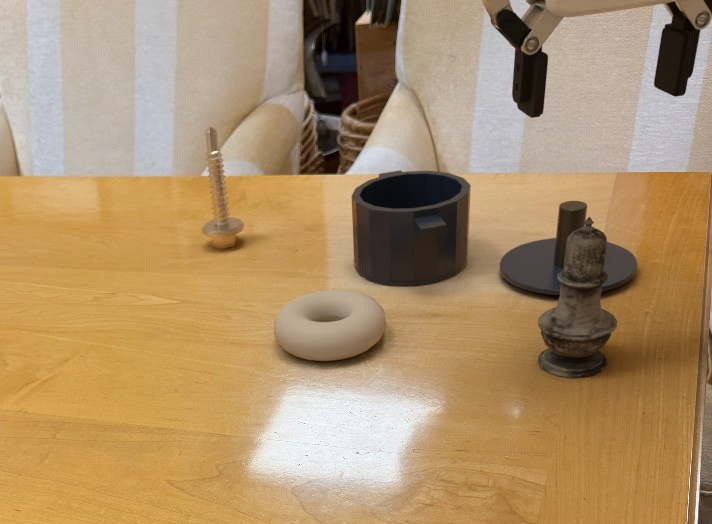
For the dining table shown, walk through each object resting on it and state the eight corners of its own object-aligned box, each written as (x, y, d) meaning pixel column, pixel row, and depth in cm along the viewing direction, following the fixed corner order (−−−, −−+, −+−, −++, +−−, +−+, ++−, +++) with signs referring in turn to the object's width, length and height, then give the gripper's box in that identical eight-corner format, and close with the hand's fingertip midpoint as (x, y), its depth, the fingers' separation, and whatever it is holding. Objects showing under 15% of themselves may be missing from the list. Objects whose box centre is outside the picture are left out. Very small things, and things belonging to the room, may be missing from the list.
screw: (201, 254, 103) (207, 237, 106) (243, 251, 102) (248, 235, 105) (183, 135, 95) (191, 122, 99) (229, 131, 94) (235, 118, 98)
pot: (441, 226, 100) (442, 156, 95) (491, 286, 87) (495, 209, 82) (340, 242, 100) (337, 173, 96) (374, 305, 87) (372, 228, 82)
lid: (601, 240, 92) (610, 174, 88) (660, 288, 82) (672, 217, 78) (481, 259, 92) (485, 194, 88) (525, 310, 82) (531, 239, 78)
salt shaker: (577, 387, 71) (596, 239, 64) (518, 362, 75) (529, 220, 68) (627, 360, 73) (650, 214, 66) (567, 337, 77) (583, 197, 70)
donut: (252, 349, 83) (333, 379, 76) (248, 314, 81) (331, 342, 74) (327, 308, 88) (410, 333, 81) (325, 274, 86) (409, 297, 79)
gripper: (751, -230, 55) (696, 72, 65) (469, -188, 55) (458, 107, 66) (828, -238, 49) (754, 96, 59) (511, -191, 49) (492, 135, 60)
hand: (598, 102), depth 63 cm, fingers open, 9 cm apart
